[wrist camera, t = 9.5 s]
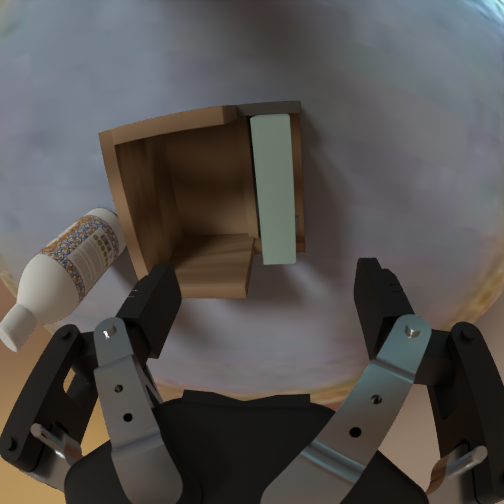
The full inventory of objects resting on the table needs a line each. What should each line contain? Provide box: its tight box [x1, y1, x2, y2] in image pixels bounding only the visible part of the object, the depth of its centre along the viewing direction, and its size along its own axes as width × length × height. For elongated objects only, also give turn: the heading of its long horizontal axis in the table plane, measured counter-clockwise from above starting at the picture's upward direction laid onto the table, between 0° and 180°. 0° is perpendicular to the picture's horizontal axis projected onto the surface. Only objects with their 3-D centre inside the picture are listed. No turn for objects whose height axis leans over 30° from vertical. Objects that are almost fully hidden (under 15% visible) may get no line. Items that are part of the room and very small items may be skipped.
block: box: [250, 113, 299, 265], centre depth 23 cm, size 11×3×9 cm, turn 5°
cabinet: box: [98, 101, 305, 298], centre depth 23 cm, size 14×14×10 cm
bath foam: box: [0, 208, 126, 352], centre depth 24 cm, size 7×7×20 cm
